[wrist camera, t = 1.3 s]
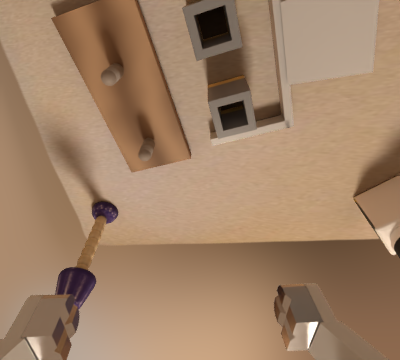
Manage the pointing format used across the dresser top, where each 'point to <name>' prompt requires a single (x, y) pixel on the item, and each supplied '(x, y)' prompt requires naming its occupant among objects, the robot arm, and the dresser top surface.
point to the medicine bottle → (383, 212)
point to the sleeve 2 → (234, 117)
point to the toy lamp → (86, 258)
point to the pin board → (125, 80)
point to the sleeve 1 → (215, 43)
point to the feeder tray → (315, 49)
